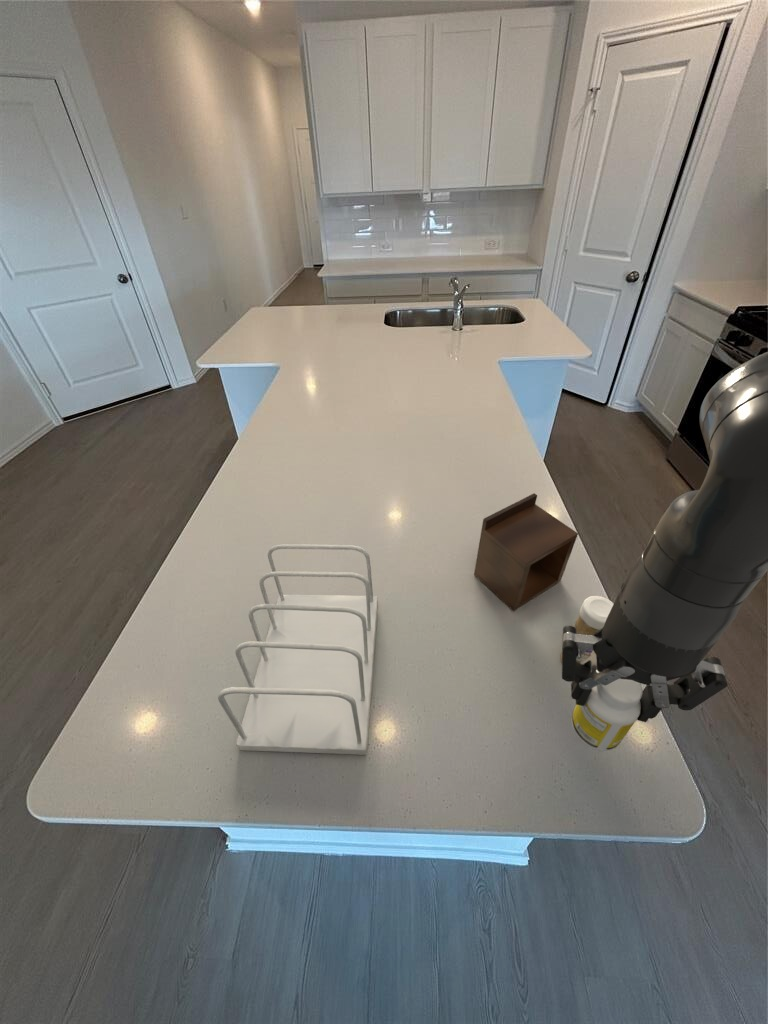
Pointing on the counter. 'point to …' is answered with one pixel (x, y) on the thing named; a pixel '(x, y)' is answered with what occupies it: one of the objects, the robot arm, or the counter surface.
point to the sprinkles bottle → (592, 618)
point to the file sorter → (310, 669)
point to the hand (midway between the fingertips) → (609, 704)
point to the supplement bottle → (608, 714)
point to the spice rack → (522, 552)
